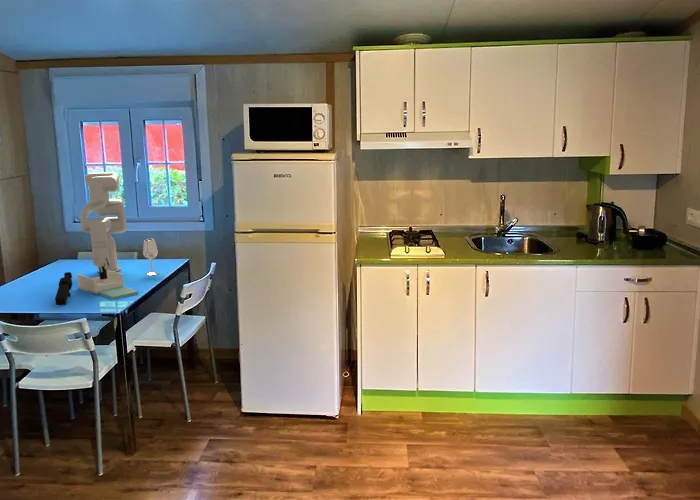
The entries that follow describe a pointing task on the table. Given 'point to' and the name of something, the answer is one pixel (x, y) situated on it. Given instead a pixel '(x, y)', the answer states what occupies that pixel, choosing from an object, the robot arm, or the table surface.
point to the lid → (118, 292)
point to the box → (100, 282)
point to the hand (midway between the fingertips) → (103, 278)
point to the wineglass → (150, 253)
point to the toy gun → (64, 289)
